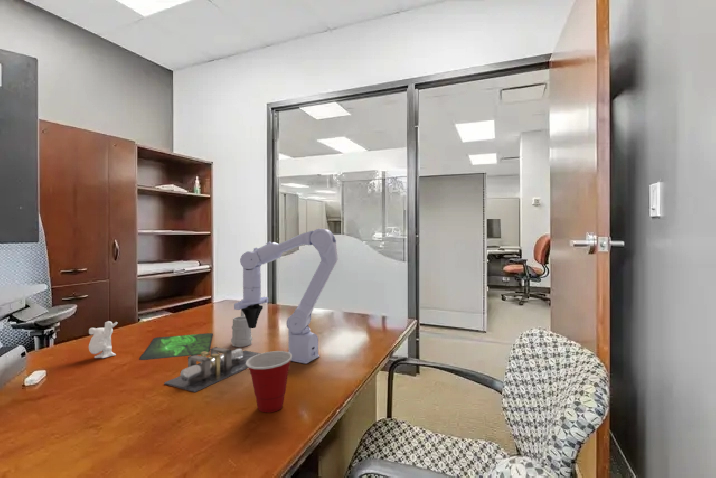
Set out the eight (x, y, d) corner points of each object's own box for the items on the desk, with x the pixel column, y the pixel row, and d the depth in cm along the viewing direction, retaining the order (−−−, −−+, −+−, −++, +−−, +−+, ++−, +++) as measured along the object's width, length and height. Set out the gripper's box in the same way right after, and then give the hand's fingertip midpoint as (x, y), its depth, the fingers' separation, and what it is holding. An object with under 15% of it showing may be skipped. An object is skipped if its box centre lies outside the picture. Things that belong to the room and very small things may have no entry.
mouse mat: (209, 354, 128) (209, 351, 128) (137, 362, 120) (137, 358, 120) (213, 334, 153) (213, 332, 153) (153, 339, 146) (153, 337, 146)
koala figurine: (122, 353, 128) (121, 318, 128) (111, 359, 121) (111, 323, 121) (96, 354, 127) (95, 319, 127) (84, 361, 120) (83, 324, 120)
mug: (230, 348, 134) (230, 315, 134) (232, 339, 145) (232, 308, 145) (252, 346, 136) (251, 313, 136) (252, 337, 147) (252, 307, 147)
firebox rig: (272, 356, 124) (272, 338, 124) (194, 392, 96) (194, 368, 96) (245, 351, 129) (244, 333, 129) (164, 384, 102) (164, 361, 102)
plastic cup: (244, 401, 91) (244, 352, 91) (288, 394, 95) (288, 348, 95) (247, 422, 81) (246, 367, 81) (296, 413, 85) (296, 361, 85)
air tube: (235, 357, 120) (235, 345, 120) (243, 359, 118) (243, 346, 118) (180, 380, 101) (180, 365, 101) (188, 382, 100) (188, 367, 100)
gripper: (257, 283, 132) (257, 321, 132) (226, 289, 119) (227, 331, 119) (273, 284, 129) (273, 323, 129) (243, 290, 116) (243, 333, 116)
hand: (252, 327), depth 124 cm, fingers closed
